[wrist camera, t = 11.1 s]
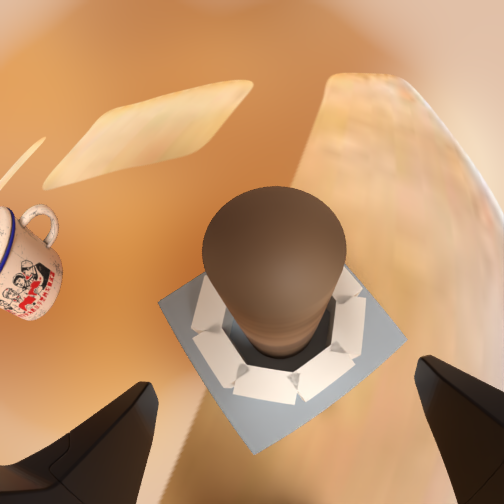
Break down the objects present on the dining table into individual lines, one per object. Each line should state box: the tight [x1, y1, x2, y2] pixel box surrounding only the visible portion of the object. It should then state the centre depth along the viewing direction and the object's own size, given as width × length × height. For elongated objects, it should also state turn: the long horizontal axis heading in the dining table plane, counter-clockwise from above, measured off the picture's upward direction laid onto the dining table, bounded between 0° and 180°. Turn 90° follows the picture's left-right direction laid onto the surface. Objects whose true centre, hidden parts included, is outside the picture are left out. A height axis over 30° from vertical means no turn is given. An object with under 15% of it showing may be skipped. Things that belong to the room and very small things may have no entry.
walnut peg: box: [202, 186, 346, 359], centre depth 16 cm, size 5×5×12 cm
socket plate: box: [158, 264, 408, 455], centre depth 20 cm, size 14×14×4 cm
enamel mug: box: [0, 204, 63, 320], centre depth 22 cm, size 12×9×12 cm
